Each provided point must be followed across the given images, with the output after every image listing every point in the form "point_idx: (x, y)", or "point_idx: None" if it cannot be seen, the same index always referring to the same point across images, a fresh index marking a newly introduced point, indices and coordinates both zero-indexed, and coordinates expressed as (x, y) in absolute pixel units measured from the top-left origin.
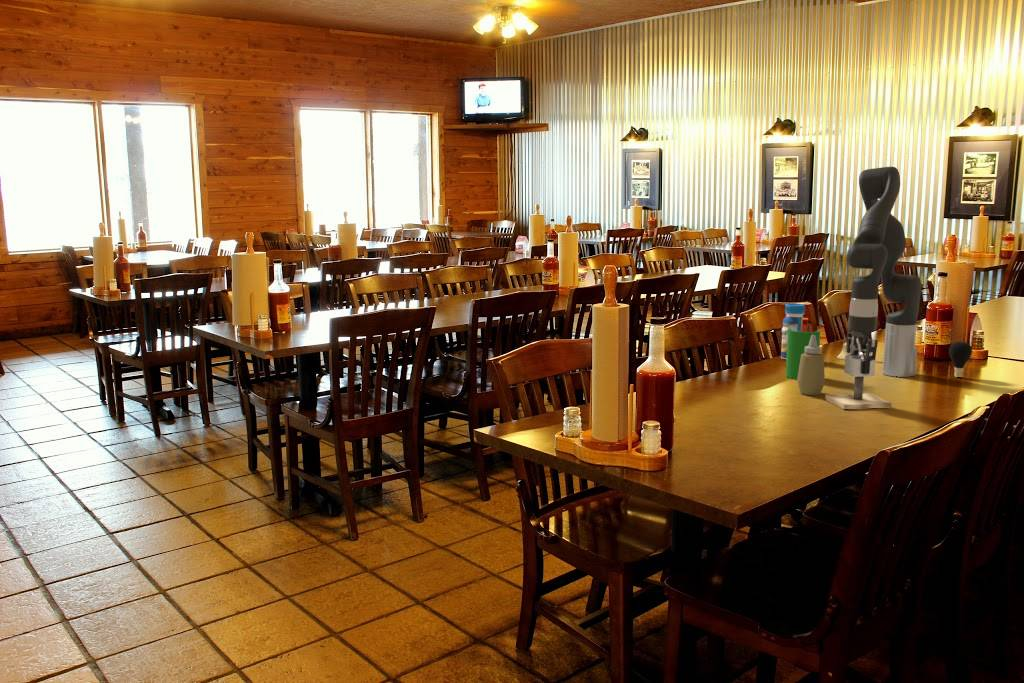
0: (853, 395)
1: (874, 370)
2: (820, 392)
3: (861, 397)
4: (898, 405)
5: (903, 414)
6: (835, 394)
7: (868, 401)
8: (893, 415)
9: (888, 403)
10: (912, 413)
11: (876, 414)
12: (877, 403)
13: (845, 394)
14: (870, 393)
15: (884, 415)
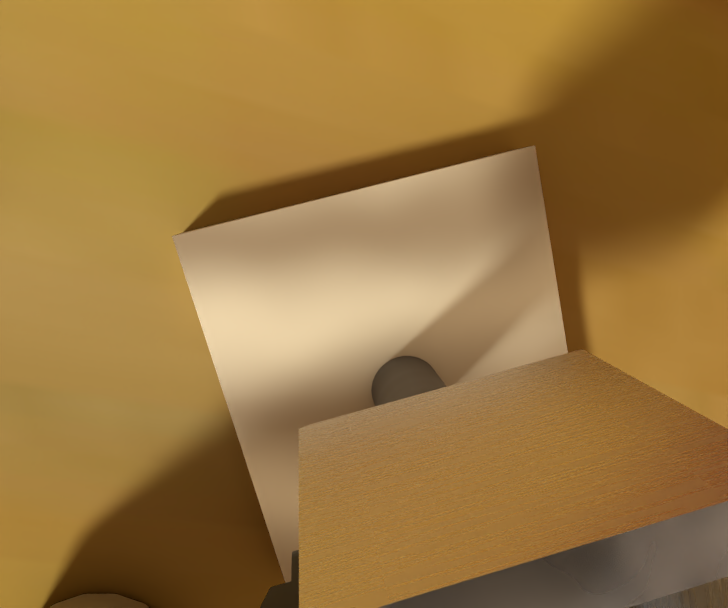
0: (286, 401)
1: (633, 381)
2: (129, 605)
3: (437, 374)
4: (410, 54)
5: (685, 106)
6: (269, 531)
7: (485, 323)
8: (710, 191)
9: (537, 173)
10: (658, 22)
11: (682, 304)
12: (546, 267)
13: (257, 458)
14: (179, 239)
15: (708, 255)
